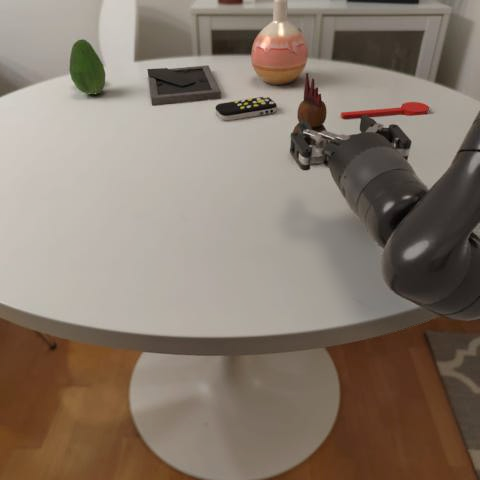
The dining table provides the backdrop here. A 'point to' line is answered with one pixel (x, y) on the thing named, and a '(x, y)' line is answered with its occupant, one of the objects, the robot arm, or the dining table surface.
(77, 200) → the dining table surface
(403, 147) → the robot arm
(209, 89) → the picture frame
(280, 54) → the vase
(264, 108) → the remote control
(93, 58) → the avocado
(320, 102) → the wooden figurine
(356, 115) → the red spoon
